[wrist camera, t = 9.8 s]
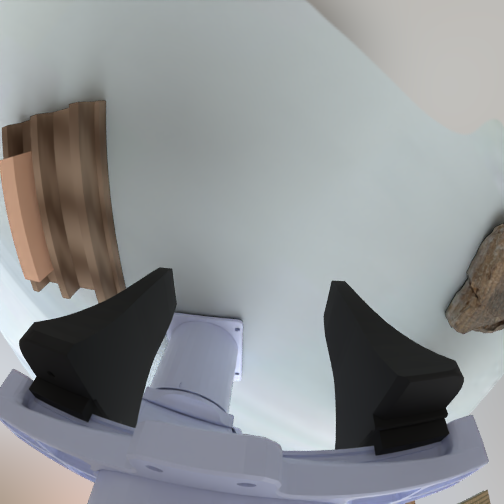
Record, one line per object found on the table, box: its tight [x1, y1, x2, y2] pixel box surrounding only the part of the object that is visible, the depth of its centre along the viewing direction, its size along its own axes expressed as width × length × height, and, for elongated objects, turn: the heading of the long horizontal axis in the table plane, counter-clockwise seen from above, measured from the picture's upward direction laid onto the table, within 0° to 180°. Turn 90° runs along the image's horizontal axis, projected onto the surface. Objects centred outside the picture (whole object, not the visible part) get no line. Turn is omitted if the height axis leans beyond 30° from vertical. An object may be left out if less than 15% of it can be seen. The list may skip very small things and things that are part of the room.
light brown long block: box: [0, 151, 54, 282], centre depth 20 cm, size 12×2×4 cm, turn 178°
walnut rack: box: [2, 101, 126, 303], centre depth 21 cm, size 18×12×3 cm, turn 178°
